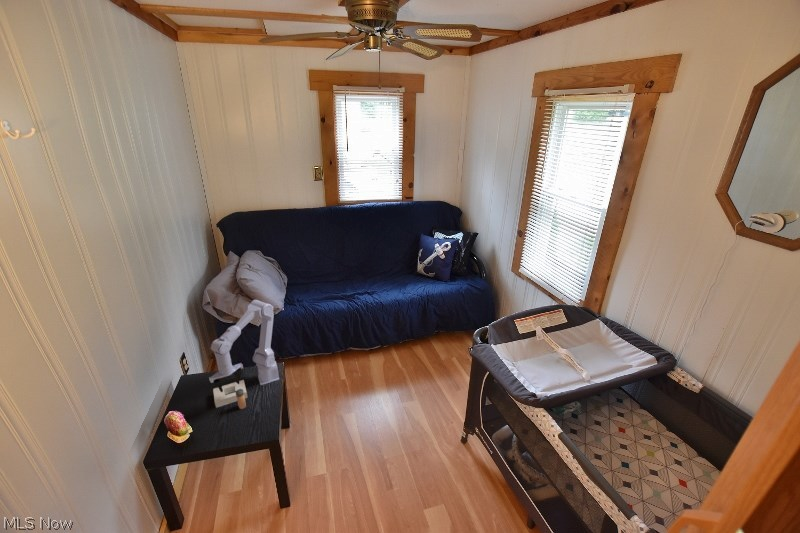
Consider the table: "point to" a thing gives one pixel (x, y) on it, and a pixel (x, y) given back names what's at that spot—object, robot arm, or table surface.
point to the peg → (240, 398)
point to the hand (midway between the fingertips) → (229, 386)
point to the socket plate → (230, 398)
